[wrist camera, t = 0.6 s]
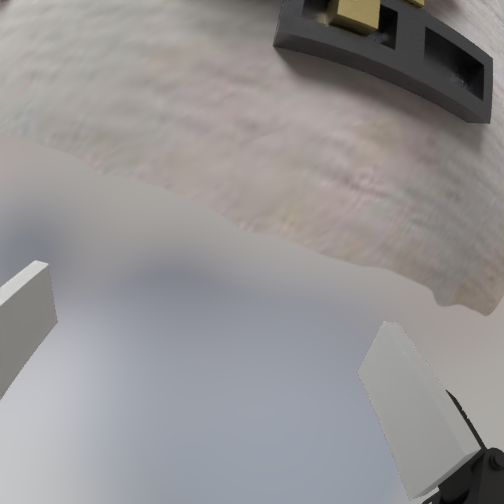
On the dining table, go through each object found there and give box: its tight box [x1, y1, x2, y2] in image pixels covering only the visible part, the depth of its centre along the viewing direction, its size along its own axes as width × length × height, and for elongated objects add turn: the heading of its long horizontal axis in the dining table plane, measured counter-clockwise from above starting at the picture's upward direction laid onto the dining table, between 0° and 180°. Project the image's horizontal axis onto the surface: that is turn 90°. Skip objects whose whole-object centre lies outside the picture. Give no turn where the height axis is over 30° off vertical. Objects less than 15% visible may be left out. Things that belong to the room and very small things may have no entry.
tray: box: [273, 0, 493, 124], centre depth 25 cm, size 11×30×5 cm, turn 79°
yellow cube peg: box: [324, 0, 380, 38], centre depth 22 cm, size 4×4×6 cm
